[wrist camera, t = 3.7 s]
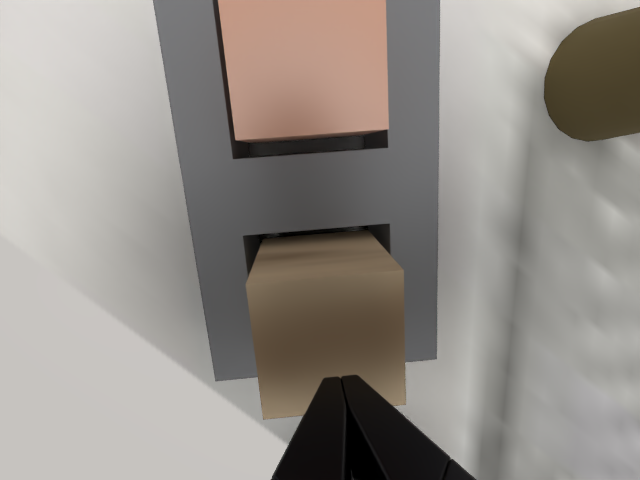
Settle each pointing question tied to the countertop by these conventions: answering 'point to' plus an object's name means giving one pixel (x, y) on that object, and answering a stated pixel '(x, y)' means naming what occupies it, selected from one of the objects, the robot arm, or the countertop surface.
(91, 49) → the countertop surface
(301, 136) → the terracotta key
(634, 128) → the olive brown cylinder
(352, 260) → the oak key
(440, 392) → the countertop surface
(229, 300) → the grey socket block
